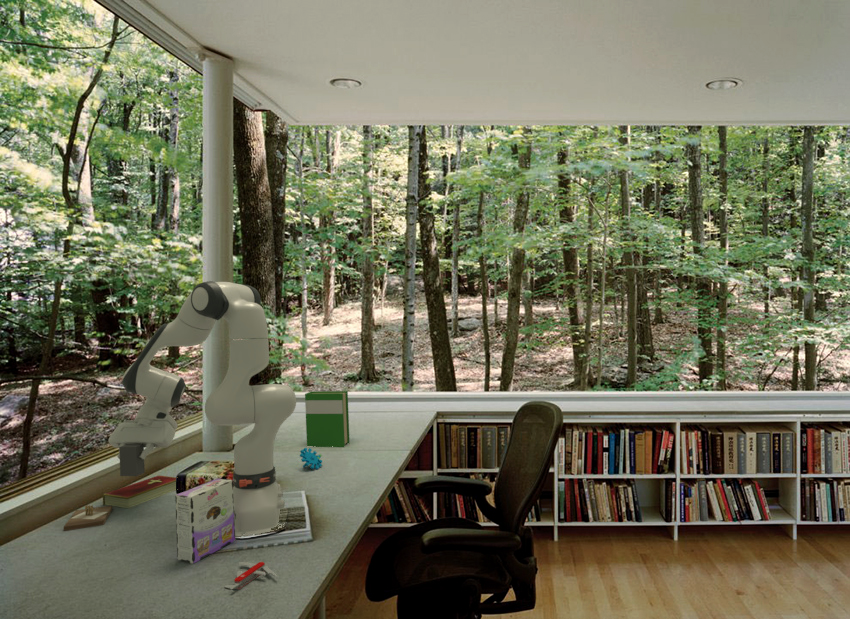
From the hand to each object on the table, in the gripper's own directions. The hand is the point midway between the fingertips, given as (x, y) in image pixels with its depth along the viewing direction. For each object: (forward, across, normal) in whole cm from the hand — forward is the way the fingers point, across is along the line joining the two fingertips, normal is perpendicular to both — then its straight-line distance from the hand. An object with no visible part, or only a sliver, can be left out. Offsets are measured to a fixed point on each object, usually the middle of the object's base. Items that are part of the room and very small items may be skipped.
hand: (130, 458), depth 166 cm
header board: (+16, -10, +8) cm, 21 cm away
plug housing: (+3, 0, +4) cm, 5 cm away
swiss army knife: (+39, +57, -13) cm, 70 cm away
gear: (-23, +39, +47) cm, 66 cm away
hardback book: (-48, +34, +72) cm, 93 cm away
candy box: (+28, +39, -4) cm, 48 cm away
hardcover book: (+2, -8, +24) cm, 25 cm away
